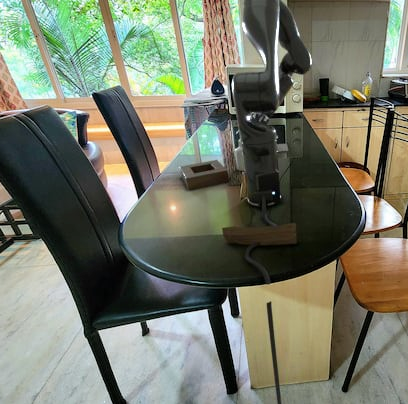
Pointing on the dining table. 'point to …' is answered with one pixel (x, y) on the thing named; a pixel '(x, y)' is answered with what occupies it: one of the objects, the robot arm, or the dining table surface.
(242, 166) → the eye dropper bottle
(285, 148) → the platform
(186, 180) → the stand
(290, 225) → the wood plank
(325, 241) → the dining table surface
